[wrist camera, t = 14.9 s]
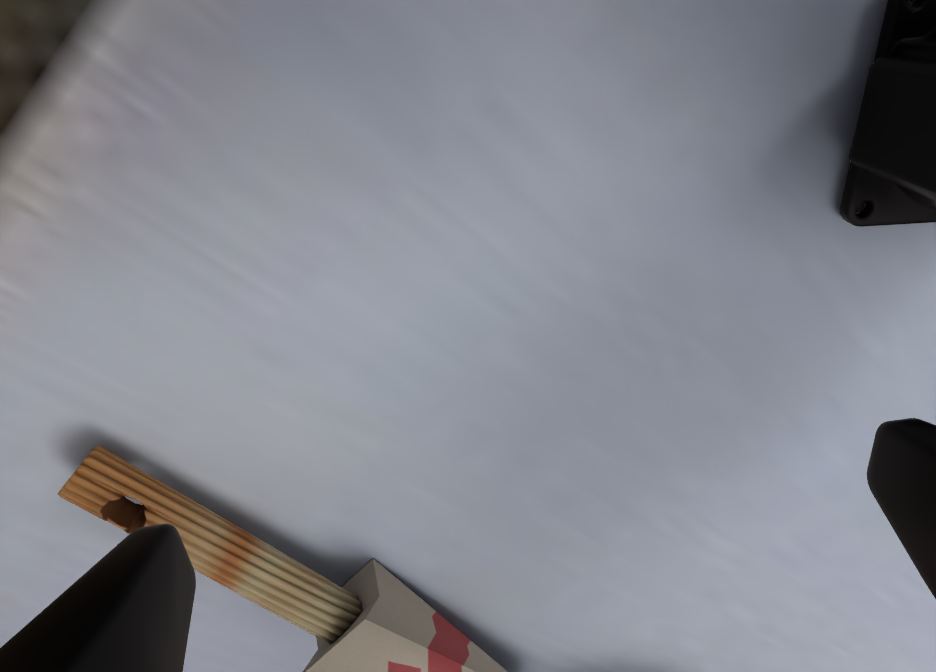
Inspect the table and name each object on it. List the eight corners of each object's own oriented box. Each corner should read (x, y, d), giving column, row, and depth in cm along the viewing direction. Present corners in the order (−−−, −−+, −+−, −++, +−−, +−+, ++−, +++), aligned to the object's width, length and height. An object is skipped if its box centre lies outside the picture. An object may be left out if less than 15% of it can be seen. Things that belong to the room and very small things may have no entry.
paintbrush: (495, 782, 27) (24, 532, 20) (490, 717, 29) (70, 475, 23) (564, 736, 26) (89, 454, 19) (553, 672, 28) (129, 404, 22)
